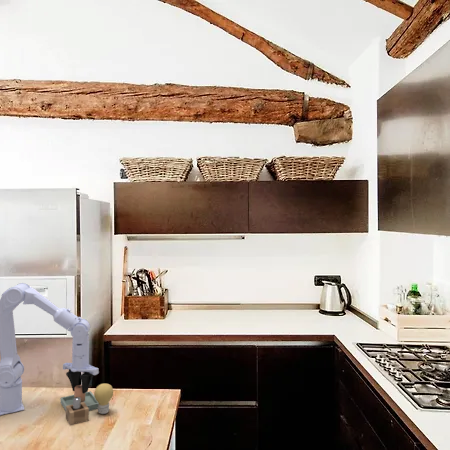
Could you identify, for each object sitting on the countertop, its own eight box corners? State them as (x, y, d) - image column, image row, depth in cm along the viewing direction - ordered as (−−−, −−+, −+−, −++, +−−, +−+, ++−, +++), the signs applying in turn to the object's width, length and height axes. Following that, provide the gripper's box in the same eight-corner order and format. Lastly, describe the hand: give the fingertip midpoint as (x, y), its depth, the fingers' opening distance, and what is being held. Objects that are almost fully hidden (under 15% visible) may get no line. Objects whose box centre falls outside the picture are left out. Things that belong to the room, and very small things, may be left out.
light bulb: (114, 408, 149) (115, 380, 148) (110, 416, 142) (110, 387, 142) (96, 408, 148) (97, 380, 148) (91, 416, 142) (92, 387, 142)
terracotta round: (72, 400, 150) (72, 386, 150) (82, 397, 153) (82, 383, 153) (76, 403, 148) (77, 389, 148) (87, 400, 150) (87, 386, 150)
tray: (60, 402, 152) (60, 397, 152) (90, 395, 159) (90, 391, 159) (68, 415, 143) (68, 410, 142) (100, 408, 149) (100, 403, 149)
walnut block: (65, 417, 141) (65, 406, 141) (83, 413, 144) (83, 401, 144) (70, 425, 136) (70, 413, 136) (88, 420, 139) (88, 408, 139)
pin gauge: (71, 418, 140) (72, 398, 140) (78, 416, 142) (79, 396, 142) (74, 421, 139) (74, 400, 138) (81, 419, 140) (81, 398, 140)
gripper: (56, 354, 149) (56, 392, 149) (89, 360, 144) (89, 399, 144) (70, 349, 156) (70, 384, 156) (102, 354, 151) (102, 391, 151)
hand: (80, 391), depth 150 cm, fingers closed on terracotta round, 4 cm apart
